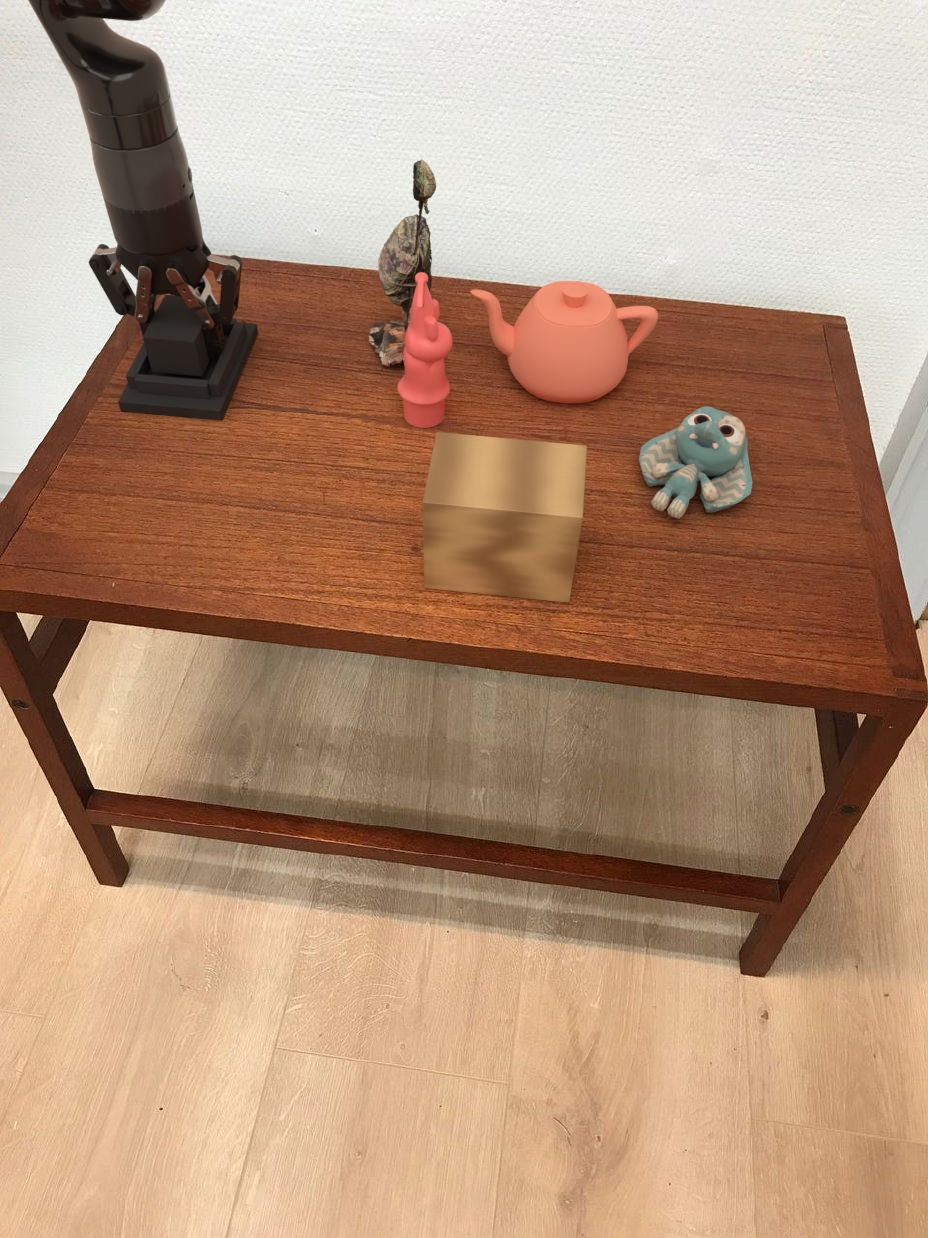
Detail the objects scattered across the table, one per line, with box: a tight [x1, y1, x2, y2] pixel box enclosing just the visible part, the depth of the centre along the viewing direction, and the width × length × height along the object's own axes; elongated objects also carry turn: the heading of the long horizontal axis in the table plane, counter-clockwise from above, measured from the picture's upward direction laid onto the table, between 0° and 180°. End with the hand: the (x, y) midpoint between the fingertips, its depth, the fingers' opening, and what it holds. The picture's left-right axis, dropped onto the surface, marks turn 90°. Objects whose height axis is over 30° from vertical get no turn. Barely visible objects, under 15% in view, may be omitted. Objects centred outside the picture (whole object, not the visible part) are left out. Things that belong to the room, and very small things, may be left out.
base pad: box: [117, 317, 259, 421], centre depth 97 cm, size 14×10×3 cm
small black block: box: [142, 294, 210, 376], centre depth 95 cm, size 7×5×4 cm
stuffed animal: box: [638, 406, 753, 520], centre depth 86 cm, size 11×7×12 cm
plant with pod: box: [368, 159, 437, 367], centre depth 94 cm, size 8×11×20 cm
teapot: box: [470, 280, 659, 404], centre depth 95 cm, size 12×18×10 cm
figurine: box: [397, 272, 454, 429], centre depth 88 cm, size 5×5×15 cm
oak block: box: [421, 431, 588, 603], centre depth 79 cm, size 12×8×10 cm, turn 83°
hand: (187, 350), depth 96 cm, fingers closed on small black block, 5 cm apart
